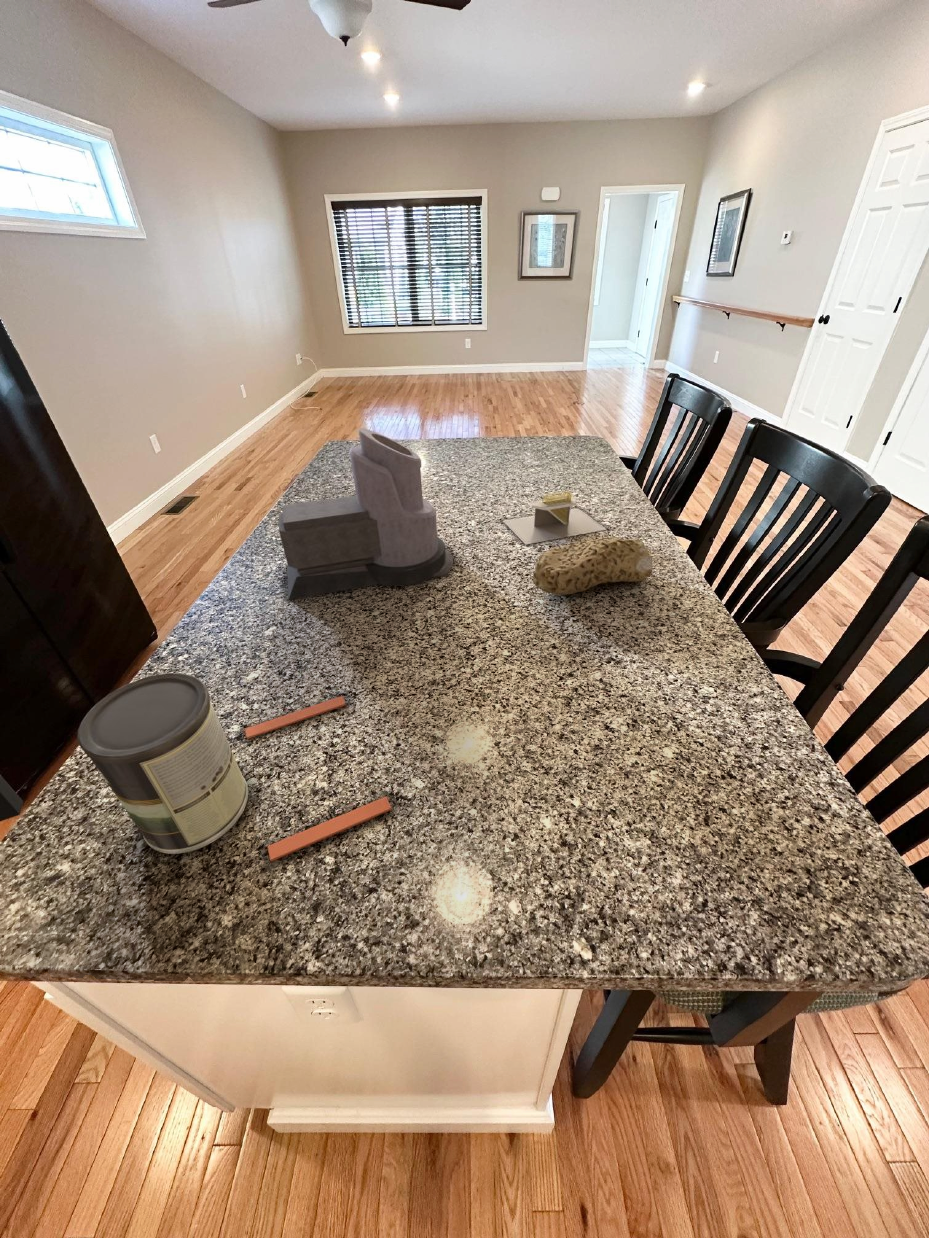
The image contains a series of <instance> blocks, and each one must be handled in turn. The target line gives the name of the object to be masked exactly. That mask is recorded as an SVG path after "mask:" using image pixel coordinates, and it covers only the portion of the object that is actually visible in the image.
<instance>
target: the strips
mask: <svg viewBox="0 0 929 1238" xmlns="http://www.w3.org/2000/svg"><path fill="white" fill-rule="evenodd" d="M346 705H347V703H346V701H345V699H344V696H343V695H340V696H337V697H334V698H332V699H329V700H325V701H323V702H320V703H316V704H313V705H311V706H308V707H305V708H301V709H299V710H296V711H293V712H289V713H287V714H285V715H281V716H278V717H276V718H272V719H270V720H266V721H264V722H260V723H258V724H255V725H254V724H253V725H252V726H249V727H245V728H244V732H245V736H246V739H247V740H249V739H252V738H255V737H257V736H262V735H263V734H266V733H270V732H272V731H276V730H278V729H281V728H283V727H287V726H289V725H292V724H295V723H299V722H301V721H304V720H307V719H309V718H312V717H315V716H319V715H321V714H324V713H327V712H330V711H333V710H336V709H339V708H342V707H344V706H345V707H346ZM392 810H393V809H392V806H391V804H390V802H389V799H388V797H387V796H384V797H381V798H379V799H376V800H374V801H372V802H369V803H367V804H364V805H363V806H360V807H358V808H355V809H353V810H351V811H347V812H345V813H343V814H341V815H338V816H336V817H333V818H332V819H328V820H327V821H324V822H322V823H319V824H317V825H314V826H312V827H310V828H307V829H305V830H303V831H300V832H298V833H295V834H293V835H291V836H289V837H285V838H284V839H281V840H279V841H276V842H274V843H272V844H269V845H267V851H268V856H269V861H270V862H274V861H276V860H279V859H281V858H284V857H286V856H288V855H290V854H293V853H295V852H297V851H299V850H302V849H305V848H307V847H309V846H311V845H313V844H316V843H318V842H320V841H323V840H325V839H327V838H330V837H332V836H334V835H337V834H339V833H342V832H344V831H346V830H348V829H350V828H353V827H355V826H358V825H360V824H362V823H364V822H367V821H370V820H372V819H373V818H376V817H378V816H381V815H383V814H385V813H388V812H390V811H392Z"/></svg>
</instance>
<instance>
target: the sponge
mask: <svg viewBox="0 0 929 1238" xmlns="http://www.w3.org/2000/svg"><path fill="white" fill-rule="evenodd" d="M534 565H535V568H534V571H533V573H532V575H533V580H532V583H533V584H534V585H535V587H537V588H538V589H539V590H541V591H542V592H545V593H550V594H552V595H555V596H559V595H560V596H561V595H572V594H576V593H578V592H579V593H581V592H584V591H587V590H590V588H594V587H596V586H598V585H600V584H608V583H617V582H629V583H638V582H641V581H645V580H646V579H647V578H648V577H650V576H651V575H652V574H653V557H652V556H651V555H650V553H649V550H648V549H647V548H646V547H645V544H644V542H643V541H641V540H639V539H637V538H632V539H631V538H630V539H625V538H618V537H611V538H610V537H609V538H608V537H607V538H598V539H589V540H584V541H577V542H573V543H570V544H567V545H561V546H553V547H552V548H549V549H548V550H546V551H545V552H543V553H541V555H539V556H538V560H536V563H535V564H534Z"/></svg>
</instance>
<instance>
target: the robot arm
mask: <svg viewBox="0 0 929 1238" xmlns="http://www.w3.org/2000/svg"><path fill="white" fill-rule="evenodd" d="M23 804H24V800H23V799H22V798H21V797H20V796H19V795H18V793H17V792H16V791H15V790H14V789H13V787H11V785H10V784H9V783H8V781H6V780H5V778H4V777H3V776H2V774H0V822H3V821H6V820H9V819H12V818H14V817H18V816H20V815H21V811H22V808H23Z"/></svg>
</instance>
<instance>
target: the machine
mask: <svg viewBox="0 0 929 1238" xmlns="http://www.w3.org/2000/svg"><path fill="white" fill-rule="evenodd" d="M357 432H358V439H359V445H355V446H352V447H350V449H349V450H348V451H349V458H350V464H351V471H352V477H353V483H354V490H355V495H349V496H342V497H335V498H327V499H319V500H313V501H305V502H298V503H291V504H290V503H289V504H283V505H282V512H281V513H279V514H278V532H279V536H280V540H281V544H282V548H283V553H284V557H285V560H286V563H287V567H286V575H287V576H286V578H287V600H288V601H291V600H297V599H301V598H308V597H314V596H318V595H325V594H331V593H337V592H342V591H347V590H348V591H349V590H352V589H358V588H364V587H371V586H376V585H381V586H389V587H404V586H411V585H416V584H420V583H423V582H426V581H428V580H431V579H433V578H437V577H442V576H446V575H448V574H449V572H450V571H451V569H452V568H453V565H454V558H453V555H452V553H450V551H449V550H448V549H447V548H446V544H445V542H444V540H443V539H442V538H440V537H439V536H438V523H437V511H436V509H435V507H434V506H433V505H432V504H431V503H430V502H429V501H428V500H427V499H425V498H424V497H423V496H424V495H423V486H422V473H421V468H422V459H421V458H420V456H419V455H418V454H417V453H416V452H415V451H414V450H412V449H410V448H409V447H407V446H405V445H404V444H401V443H400V442H398V441H396V440H394V439H393V438H390V437H388V436H386V435H384V434H381V433H379V432H376V431H374V430H370V429H368V428H364V427H363V428H362V427H361V428H359V429H358V431H357Z"/></svg>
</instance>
